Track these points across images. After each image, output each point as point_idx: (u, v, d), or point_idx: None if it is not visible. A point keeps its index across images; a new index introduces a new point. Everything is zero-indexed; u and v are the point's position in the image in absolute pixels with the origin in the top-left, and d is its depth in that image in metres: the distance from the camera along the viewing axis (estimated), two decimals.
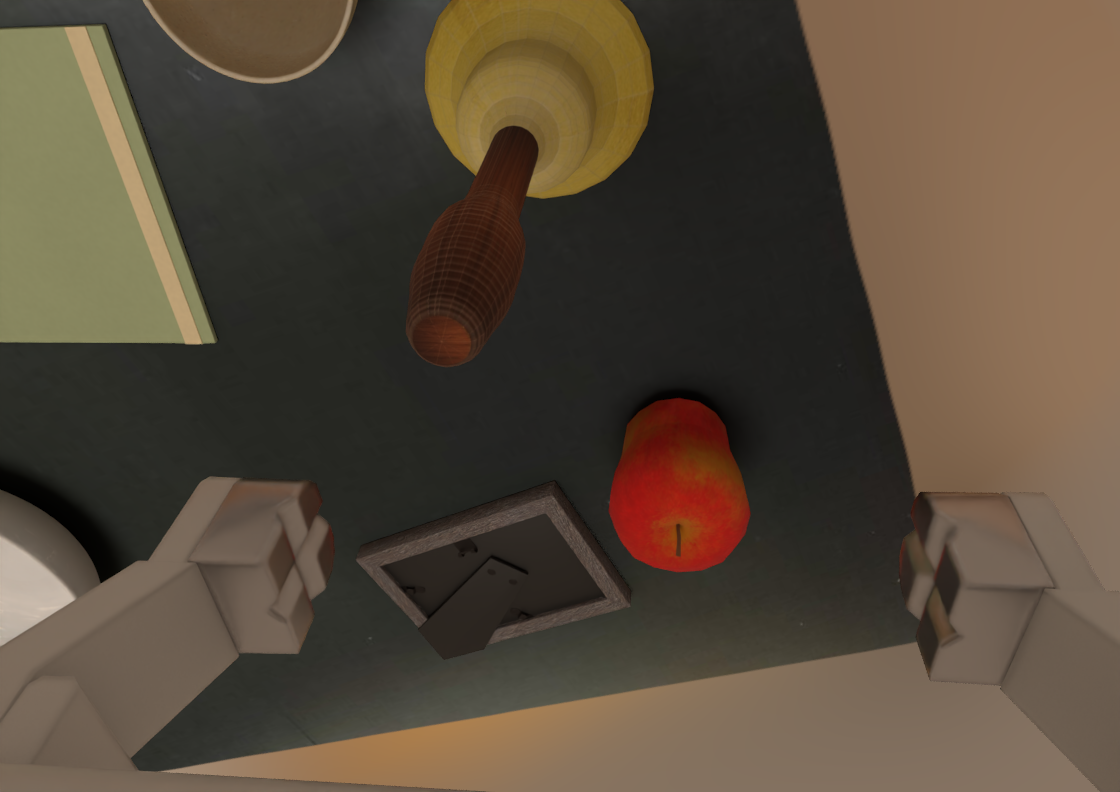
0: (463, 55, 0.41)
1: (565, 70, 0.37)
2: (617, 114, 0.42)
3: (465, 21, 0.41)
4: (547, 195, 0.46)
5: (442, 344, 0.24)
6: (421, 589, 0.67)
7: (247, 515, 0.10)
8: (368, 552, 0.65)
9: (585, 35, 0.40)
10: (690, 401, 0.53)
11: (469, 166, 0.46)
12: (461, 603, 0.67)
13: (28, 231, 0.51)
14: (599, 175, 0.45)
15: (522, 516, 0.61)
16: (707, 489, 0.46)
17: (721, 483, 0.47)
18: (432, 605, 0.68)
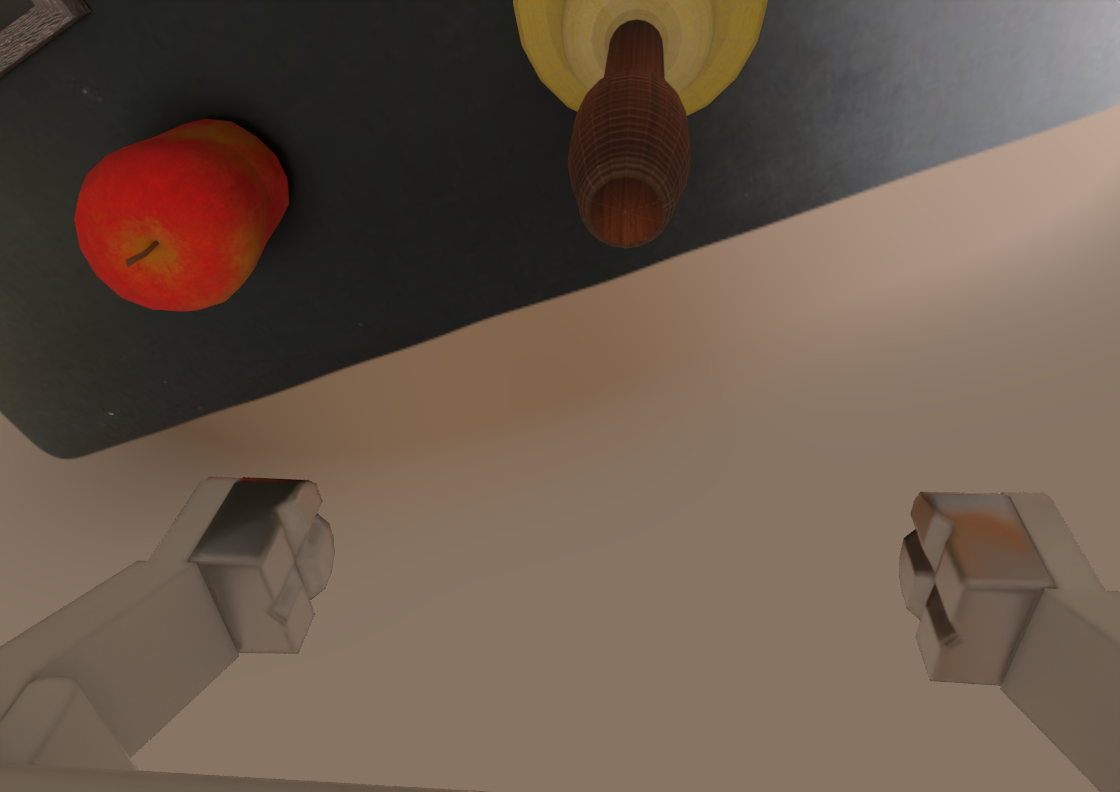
0: None
1: None
2: None
3: None
4: (522, 15, 0.40)
5: (621, 212, 0.19)
6: None
7: (247, 515, 0.10)
8: None
9: (702, 71, 0.39)
10: (287, 195, 0.45)
11: None
12: None
13: None
14: (549, 78, 0.41)
15: None
16: (226, 273, 0.39)
17: (234, 281, 0.41)
18: None
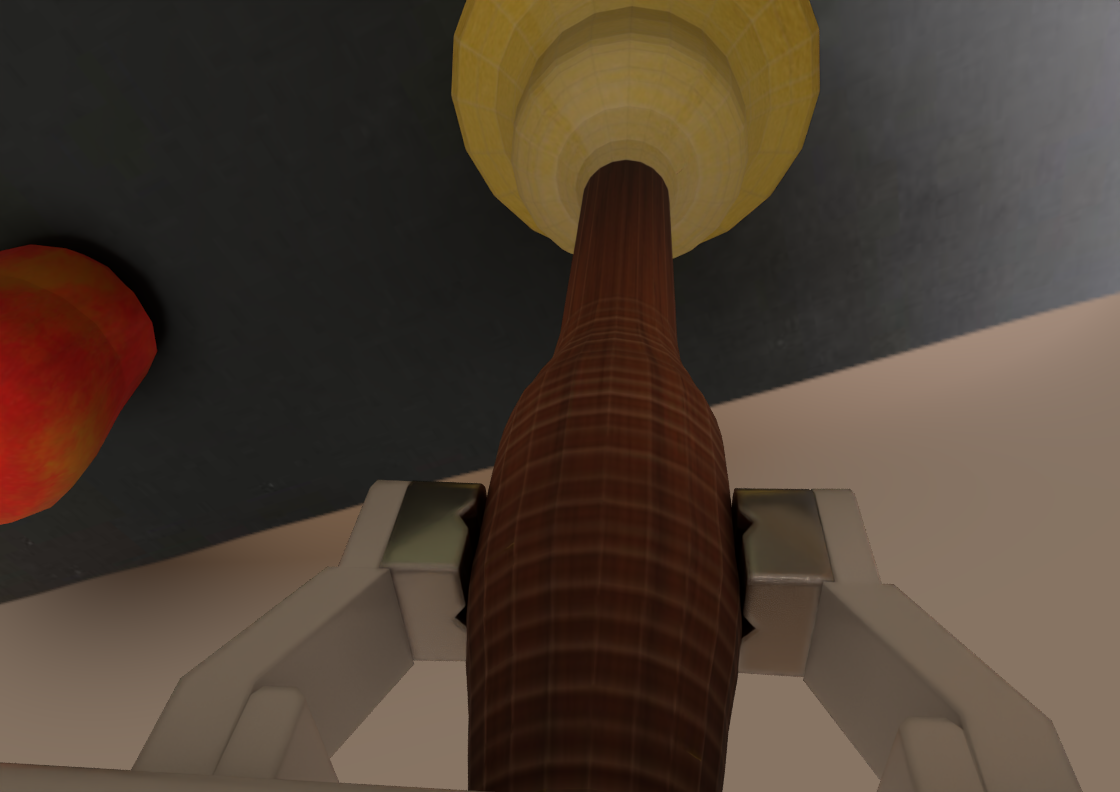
0: None
1: None
2: None
3: None
4: (463, 112, 0.27)
5: None
6: None
7: (429, 519, 0.10)
8: None
9: None
10: (153, 341, 0.33)
11: None
12: None
13: None
14: (505, 196, 0.29)
15: None
16: (35, 486, 0.27)
17: (54, 490, 0.28)
18: None
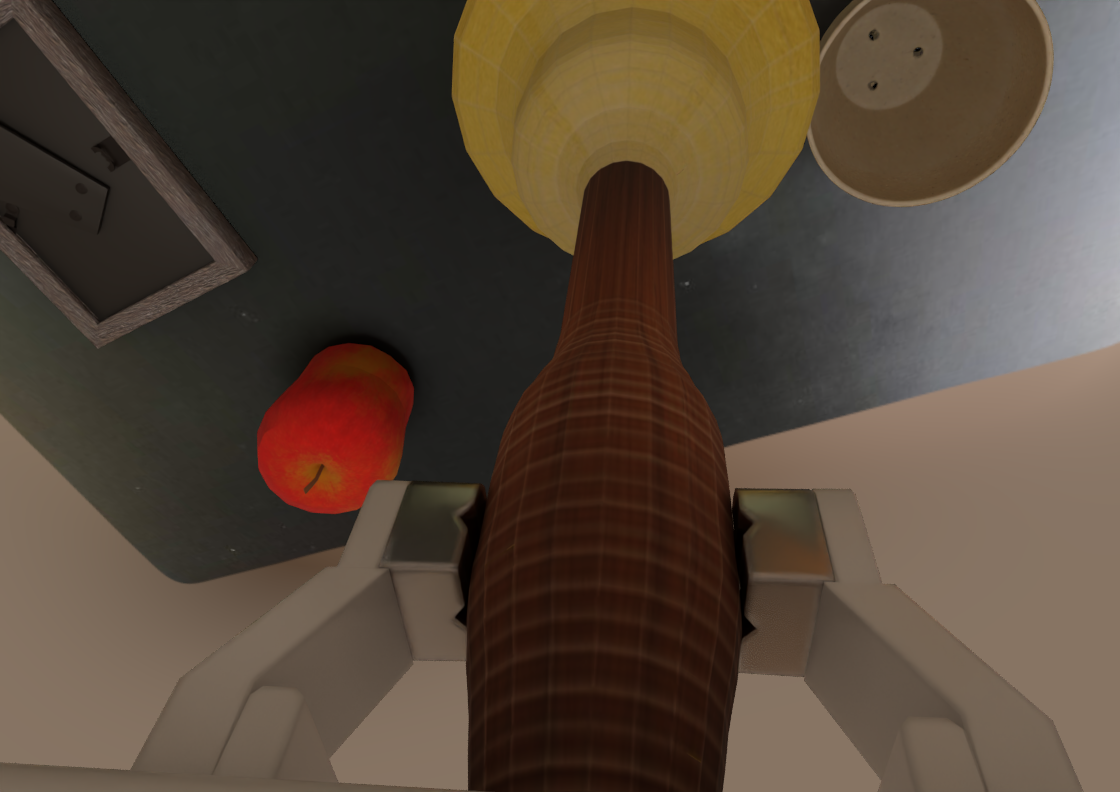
0: None
1: None
2: None
3: None
4: (463, 113, 0.27)
5: None
6: None
7: (429, 519, 0.10)
8: None
9: None
10: (412, 399, 0.54)
11: None
12: None
13: None
14: (505, 197, 0.29)
15: (200, 234, 0.48)
16: None
17: None
18: None
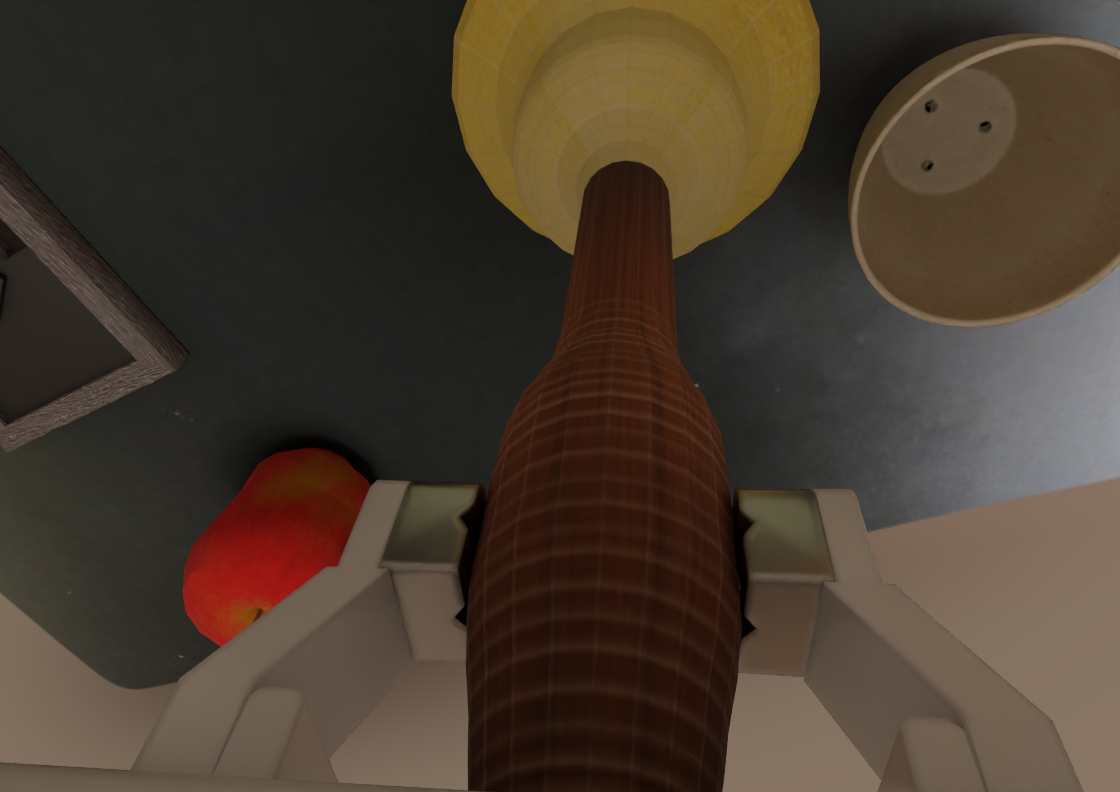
0: None
1: None
2: None
3: None
4: (463, 113, 0.27)
5: None
6: None
7: (429, 520, 0.10)
8: None
9: None
10: None
11: None
12: None
13: None
14: (505, 197, 0.29)
15: (116, 330, 0.40)
16: None
17: None
18: None
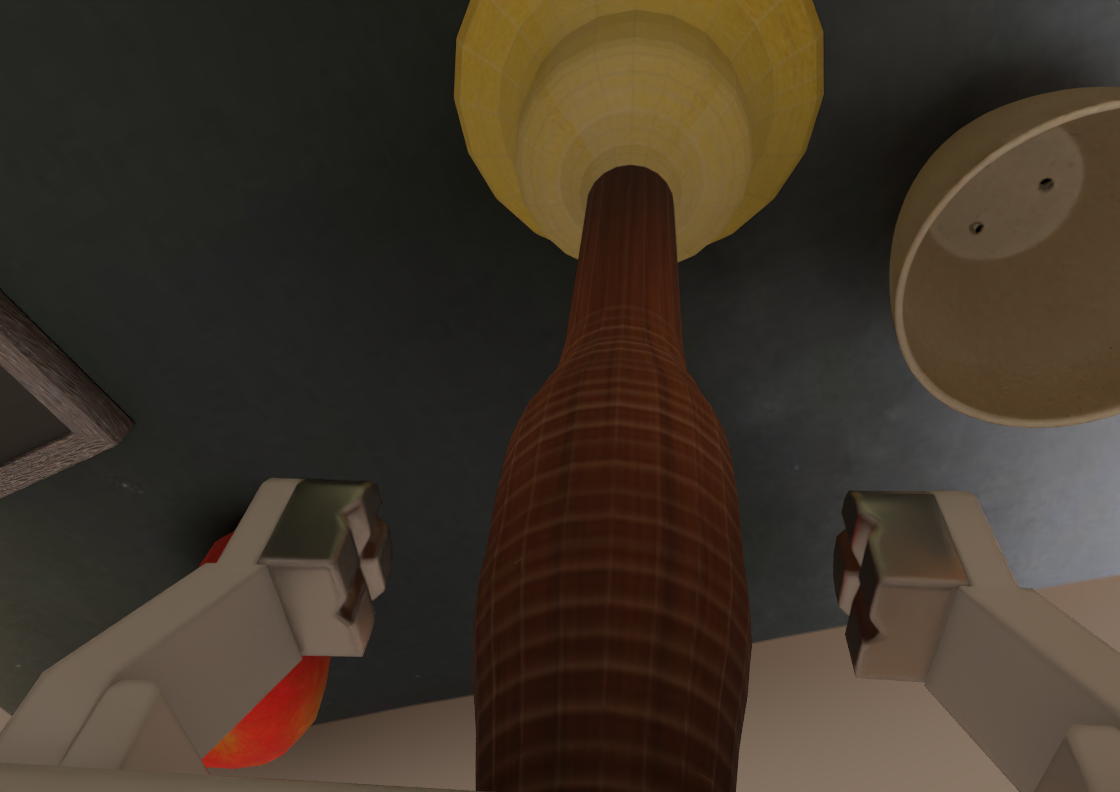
0: None
1: None
2: None
3: None
4: (466, 115, 0.27)
5: None
6: None
7: (313, 517, 0.10)
8: None
9: None
10: None
11: None
12: None
13: None
14: (507, 200, 0.29)
15: (48, 402, 0.36)
16: (288, 746, 0.35)
17: (295, 741, 0.37)
18: None
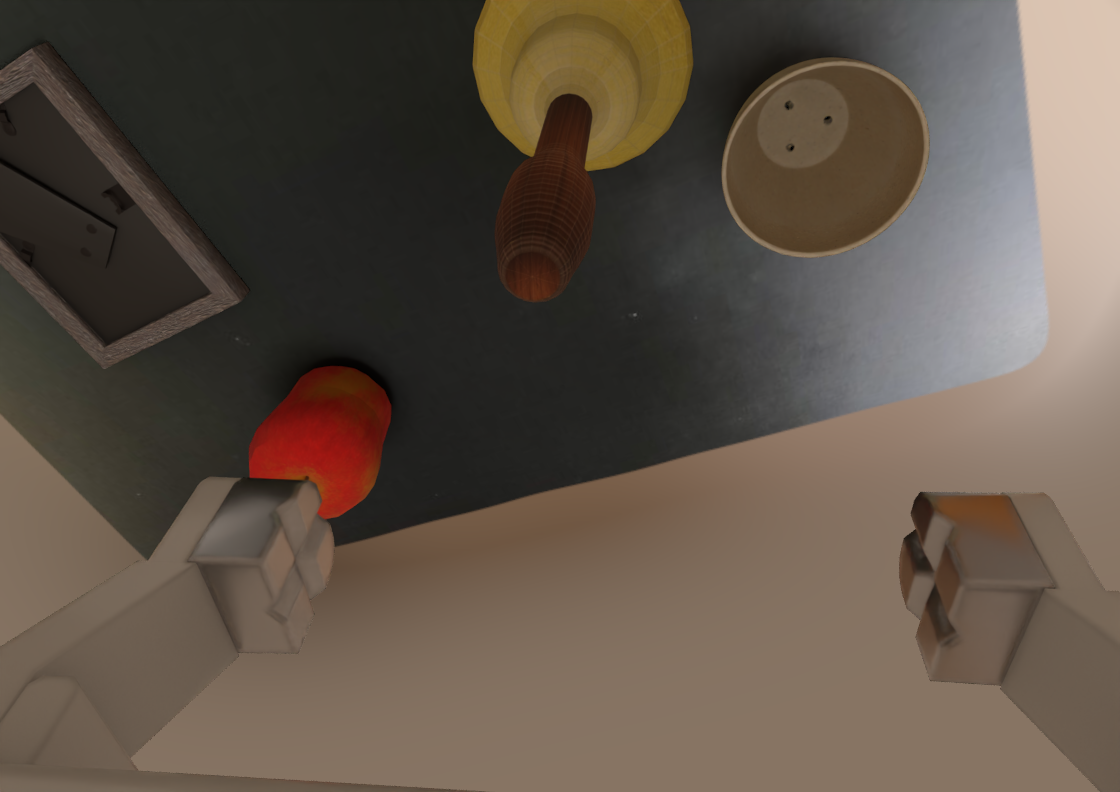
0: (623, 7, 0.41)
1: None
2: None
3: (650, 4, 0.42)
4: (480, 75, 0.45)
5: (529, 276, 0.25)
6: (10, 130, 0.49)
7: (247, 515, 0.10)
8: (51, 65, 0.47)
9: (636, 125, 0.45)
10: (390, 415, 0.59)
11: None
12: (15, 187, 0.51)
13: None
14: (504, 129, 0.47)
15: (198, 269, 0.54)
16: (357, 498, 0.53)
17: (360, 499, 0.55)
18: None
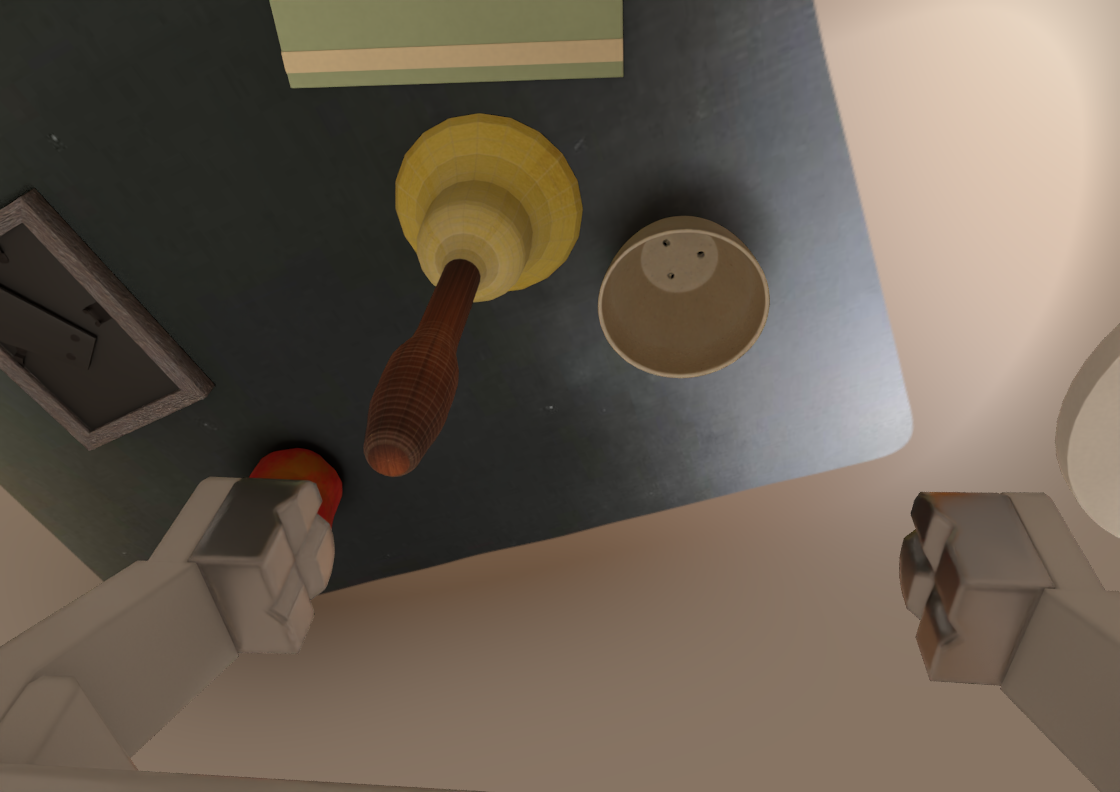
0: (515, 171, 0.49)
1: (516, 282, 0.49)
2: None
3: (539, 166, 0.50)
4: (401, 218, 0.53)
5: (386, 460, 0.33)
6: (3, 259, 0.57)
7: (247, 515, 0.10)
8: (37, 209, 0.55)
9: (534, 262, 0.52)
10: (341, 491, 0.67)
11: (417, 153, 0.50)
12: (9, 305, 0.59)
13: None
14: None
15: (168, 371, 0.61)
16: None
17: None
18: None
